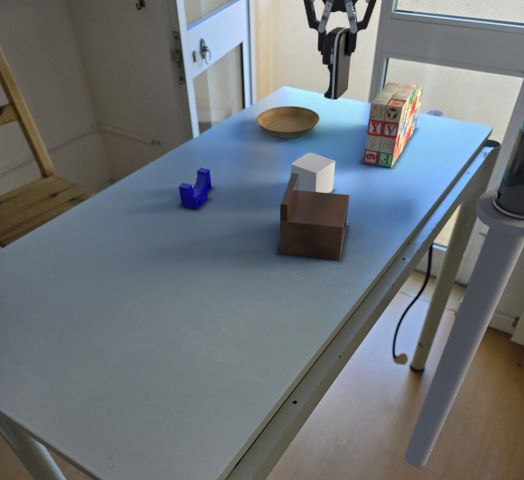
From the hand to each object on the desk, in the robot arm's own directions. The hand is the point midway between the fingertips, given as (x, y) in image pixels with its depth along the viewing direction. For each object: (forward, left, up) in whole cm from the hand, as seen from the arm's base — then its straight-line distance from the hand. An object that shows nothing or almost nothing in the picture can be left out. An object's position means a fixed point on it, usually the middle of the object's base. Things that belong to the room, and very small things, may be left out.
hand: (336, 53), depth 91 cm
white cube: (+1, +19, -19) cm, 27 cm away
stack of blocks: (-13, -4, -19) cm, 23 cm away
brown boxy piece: (-2, +35, -19) cm, 40 cm away
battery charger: (0, 0, -8) cm, 8 cm away
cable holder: (+22, +25, -19) cm, 38 cm away
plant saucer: (+11, -9, -19) cm, 24 cm away
